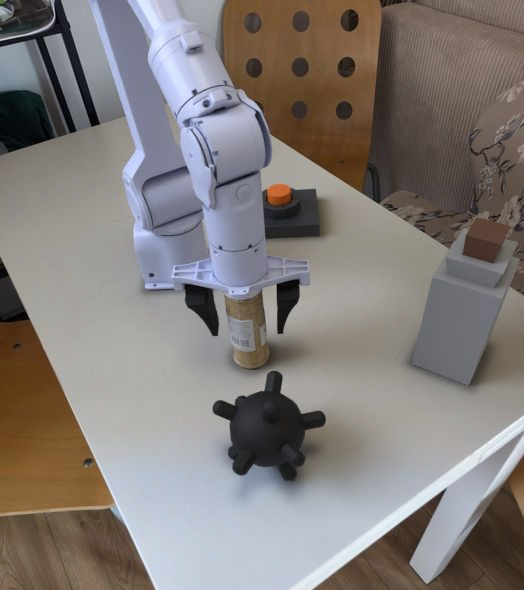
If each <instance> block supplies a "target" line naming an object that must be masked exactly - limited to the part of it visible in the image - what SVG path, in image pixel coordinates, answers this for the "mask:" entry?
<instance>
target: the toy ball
mask: <svg viewBox="0 0 524 590" xmlns="http://www.w3.org/2000/svg"><path fill="white" fill-rule="evenodd" d="M283 380H284V376H283V374H282V373H281V372H280V371H279V370H271V371H269V372H267V375H266V379H265V385H264V390H259V391H256V392H254V393H251V394H249V395H247V396H246V395H245V394H243V395H238V396H237V397H236V398H235V399H234V404H232V403H230V402H228V401H225V400H223V399H218V400H216V401H215V402H214V403H213V405H212V409H211V410H212V413H213V414H214V415H216V416H218V417H220V418H223V419H225V420H227V421H229V434H230V435H229V438H230V441H231V445H230V446H229V447H228V449H227V455H228V457H229V459H230V460H232V461H233V462H232V467H231V469H232V472H234V474H236V475H237V476H246V475H247V474H249V473H248V472H250V470H251V469H252V467H253V466H254V465H255V466H257V467H259V468H274V467H277V469H278V472H279V474H280V476H281V478H282V479H283V481H285V482H292V481H294V480H295V479H296V478H297V476H298V473H297V468H300V467H302V466H303V465H304V464H305V462H306V455H305V453H304V452H303V451H302V450H301V448H302V446H303V443H304V440H305V437H306V436H305V435H306V431H308V430H313V429H317V428H318V429H319V428H322V427H324V426H325V425H326V422H327V417H326V414H325V412H323V411H322V410H313V411H309V412H305V413H302V412H301V409H300V408H299V406H298V404H297V403H296V402H295V401H294V400H293V399H292V398H290V397H288V396H286V395H285V394H283V393H281V392H282V385H283Z"/></svg>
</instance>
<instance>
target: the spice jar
mask: <svg viewBox="0 0 524 590" xmlns="http://www.w3.org/2000/svg"><path fill="white" fill-rule="evenodd" d="M221 292H222V294H223V298H224V304H225V312H226V313H225V314H226V319H227V326H228V331H229V337H230V342H231V345H232V351H233V355H232V357H233V361H234V363H235V364H236V365H238V366H239V367H241V368H244V369H248V370H253V369H256V368H260V367H262V366H264V365H265V364H266V363H267V361H268V360H269V358H270V349H269V346H268V332H267V322H266V312H265V311H266V310H265V306H264V298H263V297H264V296H263V288H261V289H257V290H254V291H251V292H250V296H249V297H248V298H245V299H232V298H230V296H229V292H226V291H221Z"/></svg>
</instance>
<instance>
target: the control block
mask: <svg viewBox="0 0 524 590" xmlns="http://www.w3.org/2000/svg"><path fill="white" fill-rule="evenodd" d="M290 189H291V201H290V202H289V203H287V204H284V205H273V204H269V202H268V195H267V190H268V188H266V189H264V190H262V199H263V212H264V226H265V240H267V239H269V240H270V239H288V238H289V239H290V238H309V237H310V238H311V237H321V235H320V234H321V231H320V230H321V223H320V214H319V205H318V194H317V189H316V188H302V189H295V188H293V187H290Z"/></svg>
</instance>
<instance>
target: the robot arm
mask: <svg viewBox="0 0 524 590" xmlns="http://www.w3.org/2000/svg"><path fill="white" fill-rule="evenodd" d="M86 2H87V4H88V6H89V8H90V10H91V13H92V16H93V18H94V22H95V24H96V25H95V26H96V28H97V31H98V34H99V37H100V40H101V43H102V47H103V50H104V53H105V56H106V59H107V62H108V65H109V68H110V71H111V75H112V77H113V80H114V85H115V87H116V90H117V93H118V96H119V99H120V102H121V105H122V109H123V112H124V115H125V119H126V121H127V123H128V124H127V125H128V127H129V131H130V133H131V136H132V140H133V143H134V147H135V150H134V152H133V154H132V155H131V157H130V159H128V162H127V163H126V165H125V166H124V168H123V169H122V171H121V174H122V177H121V179H122V182H123V186H124V189H125V196H126V200H127V204H128V206H129V209H130V211H131V214H132V216H133V218H134V221H135V222H134V224H133V245H134V250H135V254H136V257H137V260H138V264H139V266H140V270H141V273H142V276H143V280H144V283H145V284H144V289H145V290H148V291H149V290H153V291H155V290H174V292H181V291H184V295H185V296H184V303H185V305H186V307H187V308H188V309H189V310H191V311H192V312H194V313H195V314H196V315H197V316H198V317H199V318H200V319H201V320H202V321H203V322H204V324H205V326H206V327H207V329H208V330H209V333H210V334H211V336H212V337H219V330H220V319H219V314H218V310H217V306H216V303H215V302H216V301H215V295H214V290H217V291H221V292H222V291H226V292H229V296H230V298H232V299H245V298H248V297H249V296H250V292H251V291H254V290H257V289H261V288H262V289H264V288H268V287H272V286H276V331H277V335H284V330H285V326H286V323H287V320H288V317H289V316H290V314H291V312H292V310H293V309H294V308H295V307H296V306H297V304H298V303H299V300H300V297H301V292H300V291H301V289H300V286H302V287H303V286H304V287H305V286H310V285H311V268H310V267H311V266H310V260H309V259H295V258H288V257H283V256H277V255H273V254H272V255H271V254H267V242H266V240H267V239H265V226H264V212H263V199H262V191H263V185H262V172H261V171H262V169H265V168H268V167H269V166H270V164H271V162H272V157H273V142H272V137H271V132H270V129H269V126H268V123H267V121H266V119H265V116H264V113H263V111H262V109H261V108H260V106H259V105H258V104H257V103H256V101H254V100H252V99H250V98H249V96H247V94H246V91H244V90H243V89H242V88H239V89H237V88H235V85H234V83H233V82H232V79H231V78H230V77H231V76H230V75H229V73H228V72H227V69H226V68H225V65H224V63H223V61H222V59H221V57H220V55H219V52H218V51H217V49H216V46H215V45H214V42H213V41H212V38H211V36H210V34H209V32H208V30H207V29H206V28H205V27H204V26H202V24H199V23H197V22H193V21H191V20H188V18H187V15H186V12H185V10H184V7H183V5H182V1H181V0H86ZM146 35H147V36H148V38H149V39H150V41H151V43H150V46H149V44H148V43H149V42H148V40H147V37H146ZM163 96H164V98H163ZM164 100H166V103H167V104H168V107H169V109H170V111H171V113H172V115H173V117H174V119H175V121H176V123H177V125H178V127H179V129H180V133H179V135H180V136H179V137H180V138H179V139H180V141H179V143H177V142H176V141H175V137H174V133H173V129H172V127H171V123H170V119H169V116H168V111H167V109H166V104H165V102H164ZM203 219H204V224H203ZM204 225H205V228H204ZM204 229H205V230H204ZM205 231H206V234H205ZM206 237H207V240H206ZM207 242H208V246H207ZM208 248H209V250H208Z"/></svg>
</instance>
